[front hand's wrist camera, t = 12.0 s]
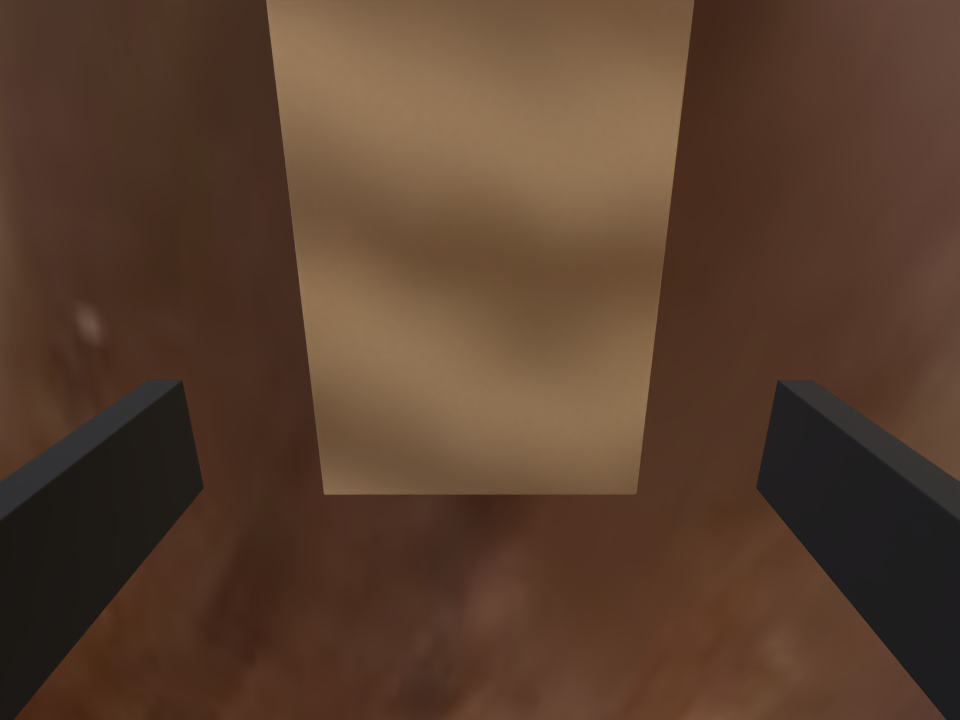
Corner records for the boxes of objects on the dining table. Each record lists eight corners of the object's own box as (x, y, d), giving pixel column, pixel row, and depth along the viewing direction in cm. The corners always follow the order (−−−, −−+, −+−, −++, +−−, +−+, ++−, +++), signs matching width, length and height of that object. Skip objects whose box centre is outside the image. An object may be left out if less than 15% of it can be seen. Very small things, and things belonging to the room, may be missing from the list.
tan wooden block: (344, -26, 21) (247, -148, 12) (616, -27, 21) (712, -148, 12) (374, 382, 26) (323, 495, 18) (585, 381, 26) (636, 495, 18)
